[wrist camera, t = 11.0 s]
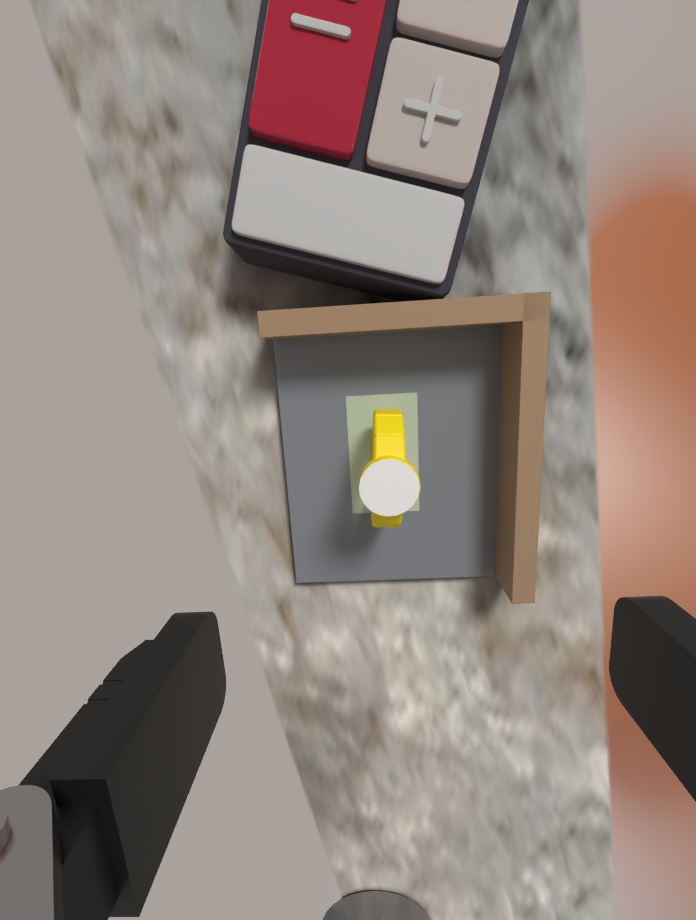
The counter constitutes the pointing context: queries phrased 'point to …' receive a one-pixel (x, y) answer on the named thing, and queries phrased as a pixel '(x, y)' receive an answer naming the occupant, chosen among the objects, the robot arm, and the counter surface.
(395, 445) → the watch
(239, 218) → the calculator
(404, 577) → the corner tray
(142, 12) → the counter surface
